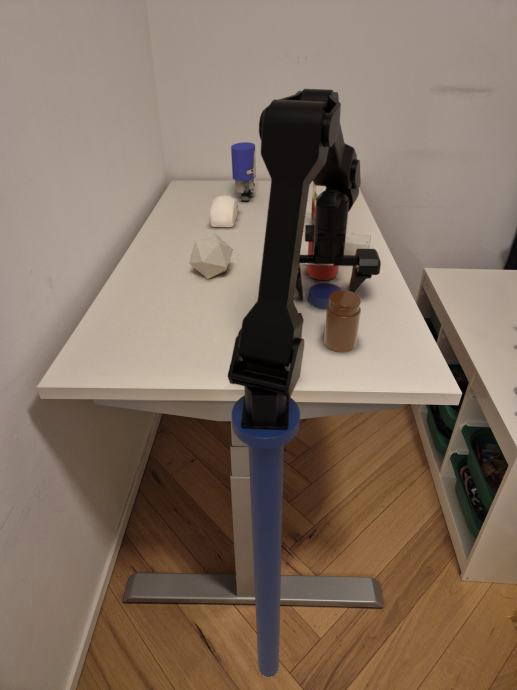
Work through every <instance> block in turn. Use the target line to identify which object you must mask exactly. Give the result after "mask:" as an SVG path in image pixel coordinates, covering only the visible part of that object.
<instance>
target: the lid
mask: <svg viewBox="0 0 517 690" xmlns="http://www.w3.org/2000/svg"><path fill="white" fill-rule="evenodd" d="M340 290H342V288H341V287H340V286H339V285H336V284H334V283H331V282H318V283H315V284H312V285H311V286H310V287H309V289H308V297H307V301H308V303H309V304H310V305H311V306H312V307H313V308H316V309H320V310H326V308H327V305H328V304H329V296H330V294H331V293H333V292H335V291H340Z"/></svg>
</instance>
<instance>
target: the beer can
mask: <svg viewBox="0 0 517 690" xmlns="http://www.w3.org/2000/svg"><path fill="white" fill-rule="evenodd" d="M312 225H315V219H313V220H312ZM307 243H308V244H307V249H308V250H307V255H313V251H312V242H307ZM338 272H339V266H320V265H306V273H307V275H308V276H309V277H310V278H312V279H314V280H318V281H328V280H332V279H334V278H335V277H336V276H337V275H338Z"/></svg>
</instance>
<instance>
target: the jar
mask: <svg viewBox="0 0 517 690" xmlns="http://www.w3.org/2000/svg"><path fill="white" fill-rule="evenodd" d="M361 303H362V300H361V297H360V295H359V294H357V292H355V293H354V292H351V291H348V290H346V289H345V290H344V289H341V290H340V291H335V292H333V293H331V294H330V296H329V304H328V305H327V308H326V309H325V322H324V332H323V333H324V334H323V344H324V346H325V347H326V348H327V349H329V350H330V351H333V352H336V353H337V352H338V353H347V352H351V351H353V350H354V349H355V348H356V346H357V343H358V336H359V327H360V320H361V312H362V309H361V306H360V305H361Z"/></svg>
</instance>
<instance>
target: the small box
mask: <svg viewBox="0 0 517 690" xmlns="http://www.w3.org/2000/svg"><path fill="white" fill-rule="evenodd" d="M371 237H372V236H371V234H360V233H349V232H348V233H347V232H346V239H345V249H344V255H356V250H357V249H371Z"/></svg>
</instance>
